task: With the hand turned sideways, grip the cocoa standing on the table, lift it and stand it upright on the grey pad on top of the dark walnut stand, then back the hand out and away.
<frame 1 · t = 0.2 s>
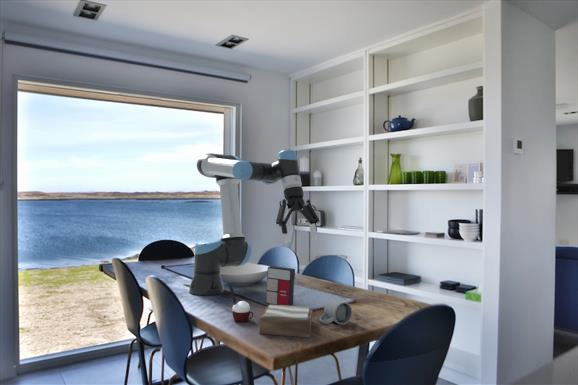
hand: (301, 241, 158), 27 cm above the table, tool tilted 15°, fingers open, 13 cm apart
ceramic mug: (334, 322, 147), on the table
calculator: (279, 305, 168), on the table
cocoa: (240, 320, 145), on the table
walnut stand: (287, 327, 138), on the table
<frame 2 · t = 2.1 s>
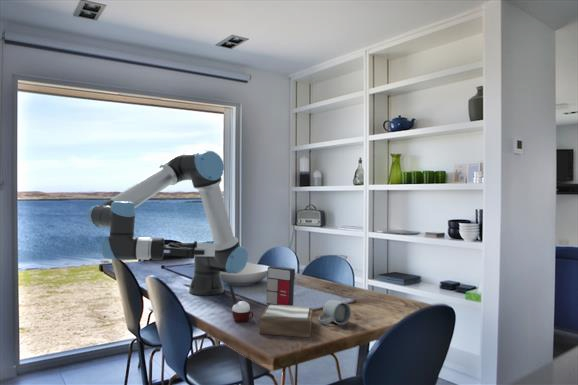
hand: (215, 249, 144), 25 cm above the table, tool horizontal, fingers open, 13 cm apart
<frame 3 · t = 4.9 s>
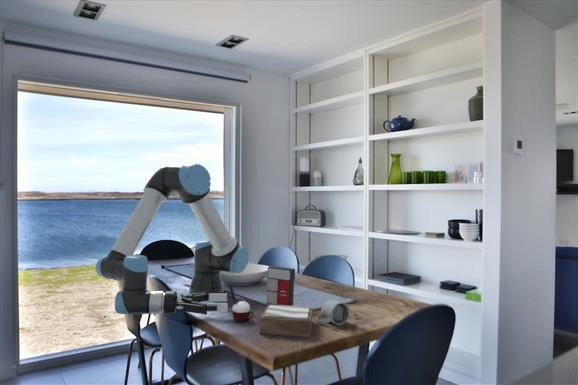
hand: (227, 302, 144), 7 cm above the table, tool horizontal, fingers open, 13 cm apart
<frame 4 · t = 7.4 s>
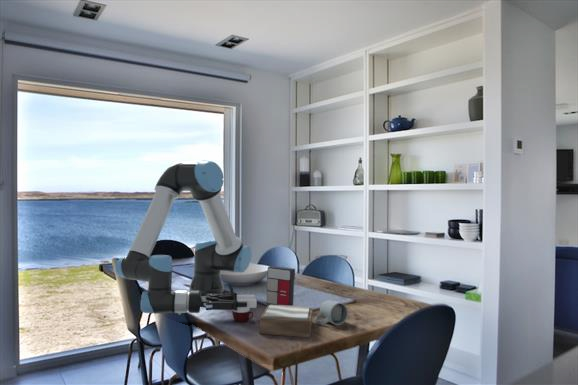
hand: (255, 301, 146), 7 cm above the table, tool horizontal, fingers closed on cocoa, 6 cm apart
cocoa: (240, 320, 145), on the table, touching gripper
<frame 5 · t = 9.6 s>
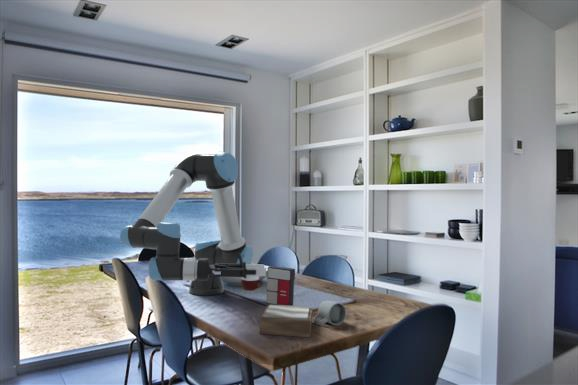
hand: (264, 270, 143), 18 cm above the table, tool horizontal, fingers closed on cocoa, 6 cm apart
cocoa: (249, 289, 142), point 11 cm above the table, touching gripper
when the fingers open (14 cm above the table, at t = 12.1 s): cocoa drops 1 cm, resting on walnut stand.
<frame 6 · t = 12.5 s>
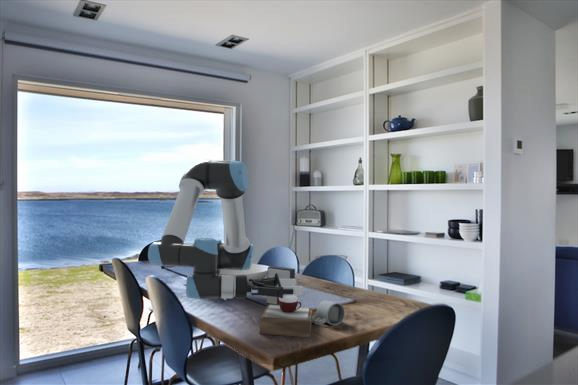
hand: (299, 286, 139), 14 cm above the table, tool horizontal, fingers open, 12 cm apart
cocoa: (287, 311, 138), point 5 cm above the table, touching walnut stand
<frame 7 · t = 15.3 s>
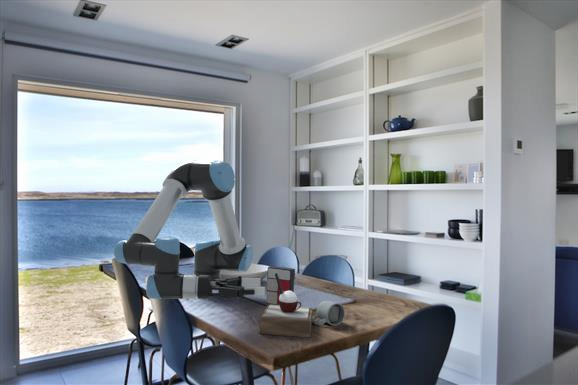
hand: (262, 286, 137), 14 cm above the table, tool horizontal, fingers open, 13 cm apart
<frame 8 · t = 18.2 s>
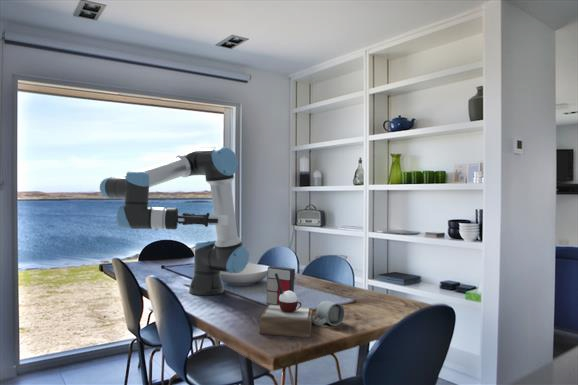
hand: (227, 219, 146), 35 cm above the table, tool horizontal, fingers open, 13 cm apart
ceramic mug: (326, 324, 145), on the table, touching walnut stand
everything else where it was.
at the end: cocoa inside the target area on the walnut stand (0.1 cm from its centre), point 5.4 cm above the walnut stand's base; cocoa tilted 0°; the gripper is holding nothing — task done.
